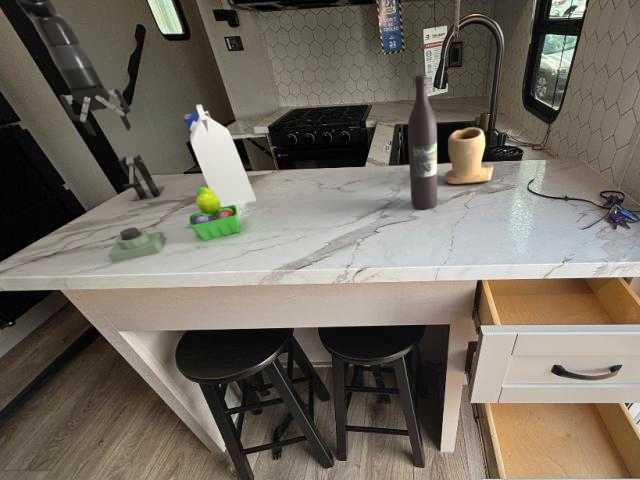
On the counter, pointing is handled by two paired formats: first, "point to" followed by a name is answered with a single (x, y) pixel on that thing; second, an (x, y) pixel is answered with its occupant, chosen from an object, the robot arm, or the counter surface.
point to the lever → (131, 174)
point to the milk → (220, 161)
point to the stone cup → (467, 157)
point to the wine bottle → (422, 149)
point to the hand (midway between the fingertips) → (112, 132)
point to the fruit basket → (213, 216)
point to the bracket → (152, 190)
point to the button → (130, 233)
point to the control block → (137, 246)
